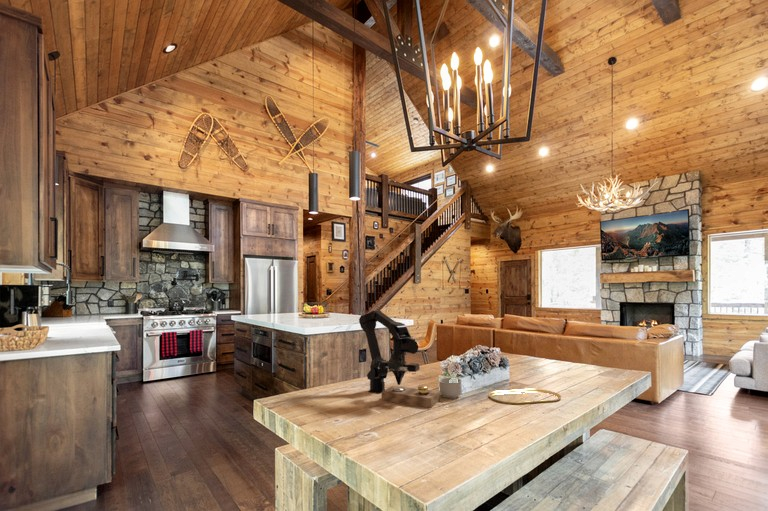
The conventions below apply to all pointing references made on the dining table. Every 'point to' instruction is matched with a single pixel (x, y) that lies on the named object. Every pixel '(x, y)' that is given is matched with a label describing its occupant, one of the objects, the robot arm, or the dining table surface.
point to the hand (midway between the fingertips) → (399, 384)
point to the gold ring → (523, 391)
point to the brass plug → (422, 389)
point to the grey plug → (399, 389)
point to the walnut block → (411, 397)
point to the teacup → (450, 388)
